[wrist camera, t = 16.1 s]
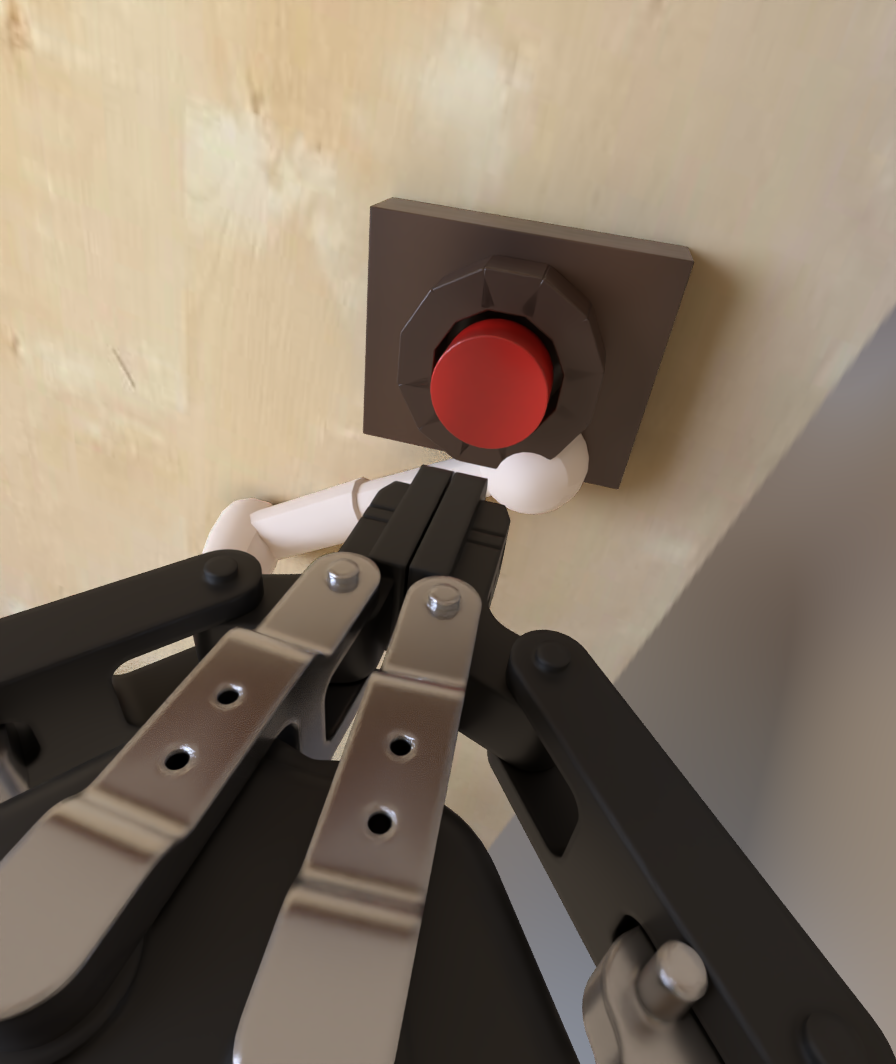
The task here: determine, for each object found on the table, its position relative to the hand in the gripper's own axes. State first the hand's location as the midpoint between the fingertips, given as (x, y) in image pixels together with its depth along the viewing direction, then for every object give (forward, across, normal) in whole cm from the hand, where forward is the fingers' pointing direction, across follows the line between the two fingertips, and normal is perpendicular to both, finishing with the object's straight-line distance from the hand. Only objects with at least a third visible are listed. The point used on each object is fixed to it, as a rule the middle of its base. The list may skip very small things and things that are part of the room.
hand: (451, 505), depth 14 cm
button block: (+11, 0, 0) cm, 11 cm away
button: (+7, 0, 0) cm, 8 cm away
